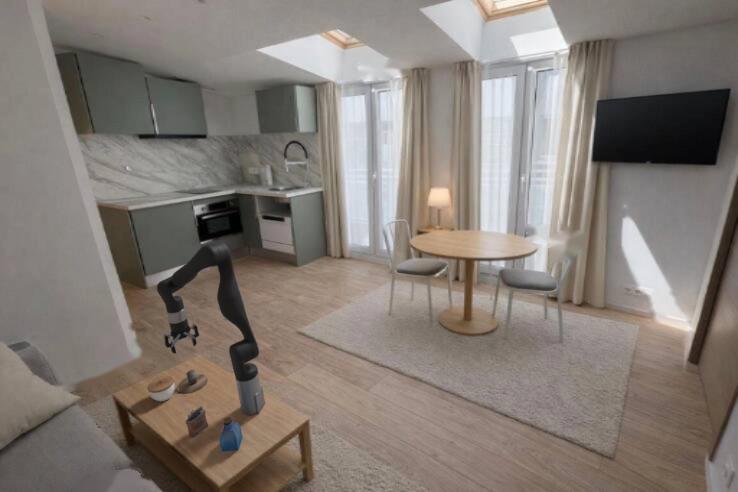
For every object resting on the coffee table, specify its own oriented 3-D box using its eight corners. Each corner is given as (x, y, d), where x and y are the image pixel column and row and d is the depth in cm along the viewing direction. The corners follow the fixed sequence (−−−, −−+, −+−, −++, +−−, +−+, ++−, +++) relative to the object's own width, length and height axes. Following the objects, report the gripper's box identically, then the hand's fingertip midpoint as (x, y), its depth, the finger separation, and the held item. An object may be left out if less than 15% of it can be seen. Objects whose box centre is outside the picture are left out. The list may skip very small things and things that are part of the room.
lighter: (192, 439, 144) (187, 419, 141) (187, 435, 145) (182, 415, 142) (210, 425, 150) (205, 406, 147) (205, 422, 152) (200, 403, 149)
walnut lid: (213, 376, 181) (210, 365, 179) (196, 394, 169) (194, 382, 166) (189, 374, 183) (187, 363, 181) (172, 392, 171) (169, 380, 169)
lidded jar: (181, 389, 172) (177, 372, 170) (167, 405, 162) (163, 388, 159) (160, 388, 173) (156, 372, 171) (145, 404, 163) (140, 387, 160)
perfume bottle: (226, 438, 143) (221, 414, 139) (242, 437, 144) (237, 413, 140) (222, 452, 137) (216, 427, 134) (238, 450, 138) (233, 425, 134)
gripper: (191, 310, 172) (198, 340, 177) (158, 321, 163) (166, 352, 168) (196, 315, 166) (203, 346, 171) (162, 327, 157) (170, 359, 162)
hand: (184, 349), depth 169 cm, fingers open, 8 cm apart
